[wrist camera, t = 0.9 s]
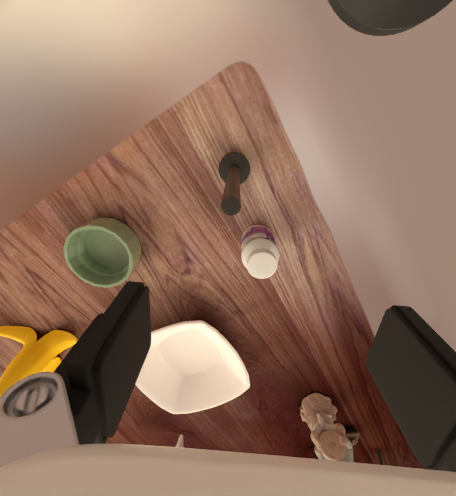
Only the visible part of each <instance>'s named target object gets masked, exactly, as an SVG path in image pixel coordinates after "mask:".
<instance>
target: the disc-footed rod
mask: <svg viewBox="0 0 456 496" xmlns="http://www.w3.org/2000/svg"><path fill="white" fill-rule="evenodd" d="M249 173H250V166H249V162H248V160H247V159H246V157H245V156H244V155H242V154H240V153H237V152H232V153H229V154H227V155H225V156H224V157H223V159H222V160H221V162H220V164H219V174H220V177H221V178H222V180H223V181H224V182H225V183H226V185H225V189H224V194H223V198H222V202H221V209H222V211H223V212H224V213H225V214H226V215H229V216H232V215H235V214H237V213H238V212H239V211H240V208H241V202H240V184H241V183H243V182H244V181H245V180H246V179H247V178H248V176H249Z"/></svg>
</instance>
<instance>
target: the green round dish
mask: <svg viewBox="0 0 456 496" xmlns="http://www.w3.org/2000/svg"><path fill="white" fill-rule="evenodd" d="M63 249H64V255H65V260H66V262H67V264H68V266H69V267H70V269H71V270H72V272H73V273H74V274H75V275H77V276H78V277H79V278H80V279H81V280H82V281H84V282H87V283H89V284H91V285H94V286H97V287H107V288H109V287H113V286H116V285H120V284H121V283H123V282H124V281H125V280H126V279H128V278H129V276H130V275H131V274H132V272H133V271H134V270H135V268H136V267H137V266H138V263H139V261H140V259H141V245H140V242H139V240H138V238H137V236H136V234H135V233H134V232H133V231H132V230H131V229H130V228H129V227H128V226H127V225H126V224H124V223H122V222H120V221H117V220H115V219H113V218H103V217H99V218H96V219H93V220H90V221H88V222H86V223H84V224H83V225H81V226H79V227H77V228H76V229H74V230H73V231H72V232H71V233H70V234H69V235H68V236H67V238H66V241H65V244H64V248H63Z"/></svg>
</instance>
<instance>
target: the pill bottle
mask: <svg viewBox="0 0 456 496" xmlns="http://www.w3.org/2000/svg"><path fill="white" fill-rule="evenodd" d="M241 255H242V262H243V264H244V266H245V267H246V268H247V269H248V272H249V273H250V274H251V275H252V276H253V277H255V278H259V279H265V278H268V277H270V276H272V275H273V274H274V272H275V271H276V269H277V263H278V261H279V251H278V248H277V245H276V242H275V239H274V237H273V234H272V232H271V231H270V230H269V229H268V228H267V227H265V226H262V225H253V226H251V227H249V228H247V229H246V230H245V231H244V233H243V235H242V238H241Z"/></svg>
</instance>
